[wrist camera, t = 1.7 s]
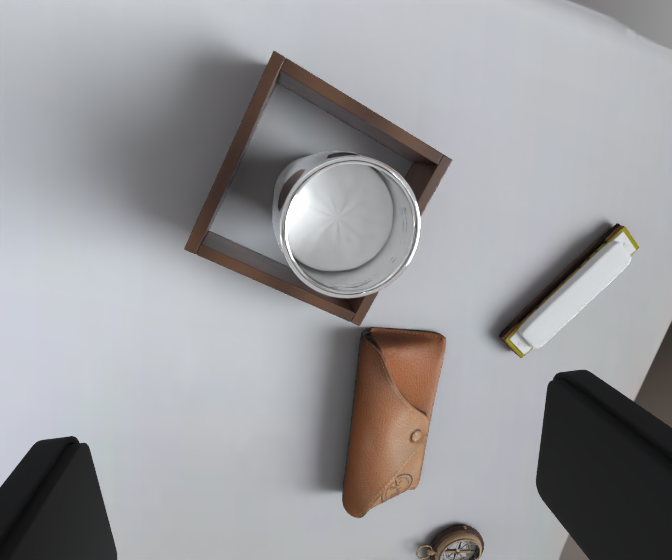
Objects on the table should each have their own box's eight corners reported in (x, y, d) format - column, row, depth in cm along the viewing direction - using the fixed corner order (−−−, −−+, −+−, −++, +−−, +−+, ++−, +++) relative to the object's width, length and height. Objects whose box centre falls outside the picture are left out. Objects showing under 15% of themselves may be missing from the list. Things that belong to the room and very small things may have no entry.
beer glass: (277, 139, 32) (292, 132, 17) (365, 161, 33) (443, 171, 19) (260, 230, 33) (261, 289, 19) (344, 246, 35) (402, 313, 21)
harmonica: (612, 222, 39) (631, 226, 37) (628, 244, 40) (647, 249, 38) (496, 333, 40) (507, 343, 38) (514, 352, 41) (526, 362, 39)
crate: (194, 234, 33) (183, 249, 28) (271, 65, 30) (273, 50, 25) (346, 303, 36) (359, 326, 32) (426, 158, 34) (452, 159, 29)
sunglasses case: (421, 492, 43) (408, 544, 37) (356, 470, 46) (334, 516, 40) (449, 330, 38) (438, 359, 32) (374, 314, 41) (352, 339, 35)
